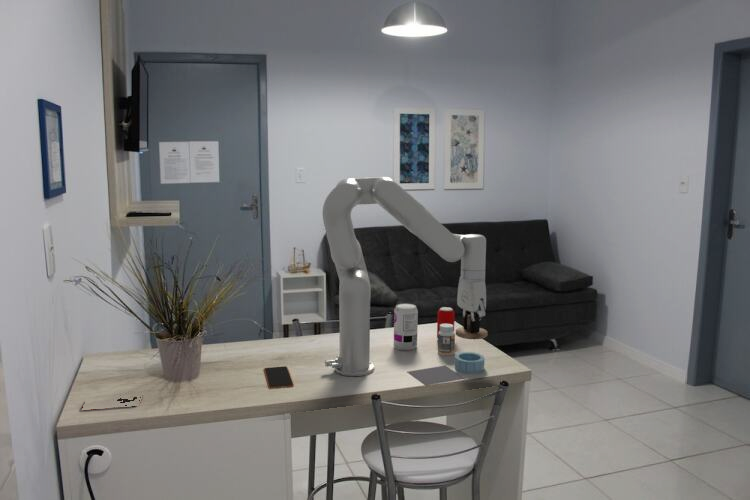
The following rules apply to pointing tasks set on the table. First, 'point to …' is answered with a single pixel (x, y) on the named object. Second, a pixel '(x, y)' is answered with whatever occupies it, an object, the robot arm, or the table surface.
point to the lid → (466, 333)
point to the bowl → (469, 362)
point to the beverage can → (445, 317)
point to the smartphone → (278, 377)
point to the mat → (435, 375)
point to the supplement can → (405, 326)
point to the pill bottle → (446, 339)
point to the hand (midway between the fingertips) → (471, 330)
